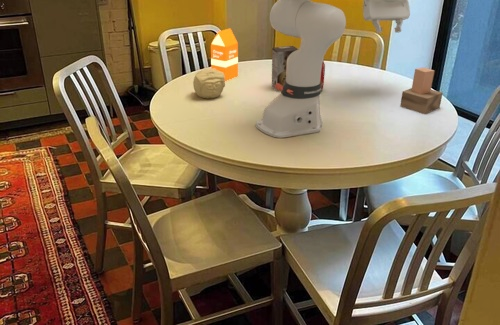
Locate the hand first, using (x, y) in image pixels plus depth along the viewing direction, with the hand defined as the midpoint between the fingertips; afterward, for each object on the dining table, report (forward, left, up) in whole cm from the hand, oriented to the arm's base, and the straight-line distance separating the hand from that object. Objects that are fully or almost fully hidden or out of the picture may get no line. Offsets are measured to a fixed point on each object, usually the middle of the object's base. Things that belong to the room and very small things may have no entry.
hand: (389, 32), depth 173 cm
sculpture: (-55, +36, -25) cm, 70 cm away
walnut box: (+4, -15, -25) cm, 29 cm away
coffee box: (-25, +28, -25) cm, 45 cm away
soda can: (-16, +20, -25) cm, 36 cm away
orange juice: (-38, +53, -25) cm, 70 cm away
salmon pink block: (+4, -15, -19) cm, 24 cm away
